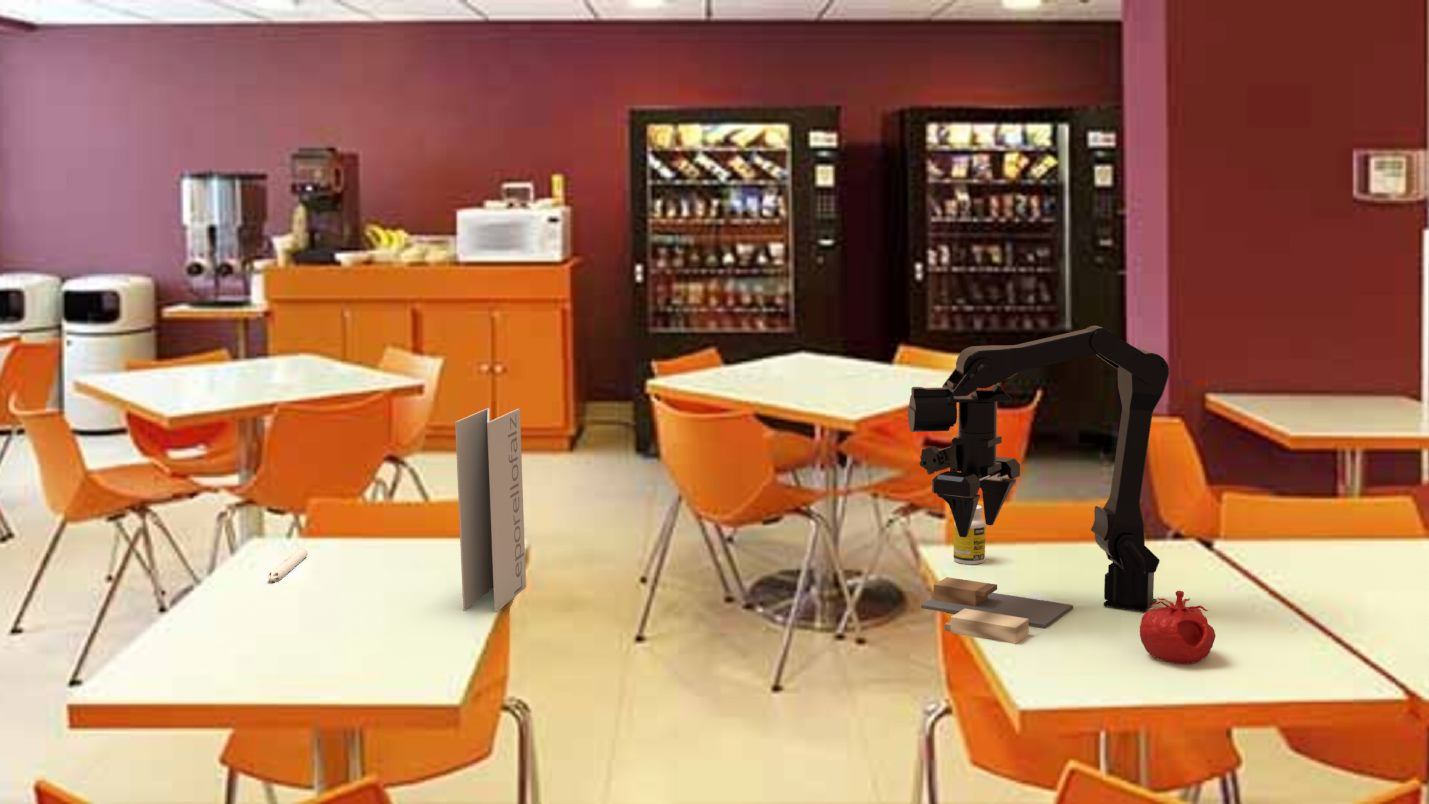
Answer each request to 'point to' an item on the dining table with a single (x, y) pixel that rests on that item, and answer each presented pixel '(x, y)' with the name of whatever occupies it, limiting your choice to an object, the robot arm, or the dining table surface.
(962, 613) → the birch plank
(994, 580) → the dining table surface
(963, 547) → the supplement bottle
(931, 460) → the robot arm
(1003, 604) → the underlay mat
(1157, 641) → the pomegranate
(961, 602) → the wooden block
